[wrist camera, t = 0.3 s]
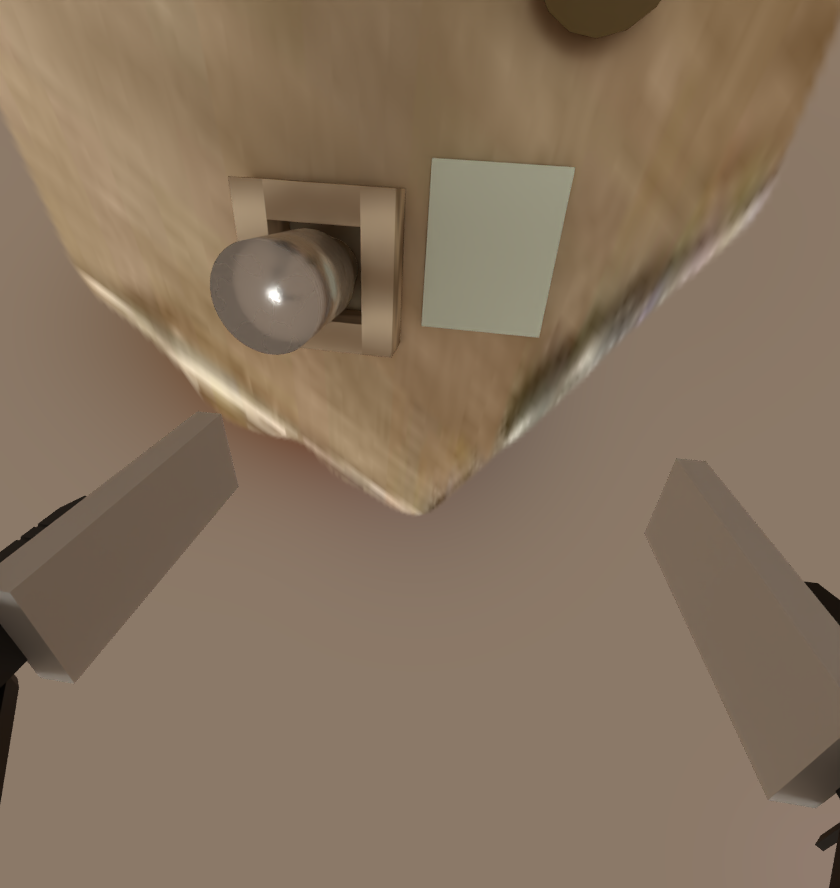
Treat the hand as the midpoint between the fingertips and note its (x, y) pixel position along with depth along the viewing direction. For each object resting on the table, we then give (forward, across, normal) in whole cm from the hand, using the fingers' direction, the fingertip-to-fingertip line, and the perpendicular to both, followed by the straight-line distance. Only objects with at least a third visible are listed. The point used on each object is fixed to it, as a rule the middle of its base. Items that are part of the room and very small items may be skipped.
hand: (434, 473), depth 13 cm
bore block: (+27, -12, +1) cm, 29 cm away
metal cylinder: (+27, -12, +1) cm, 29 cm away
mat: (+27, +2, +3) cm, 27 cm away
